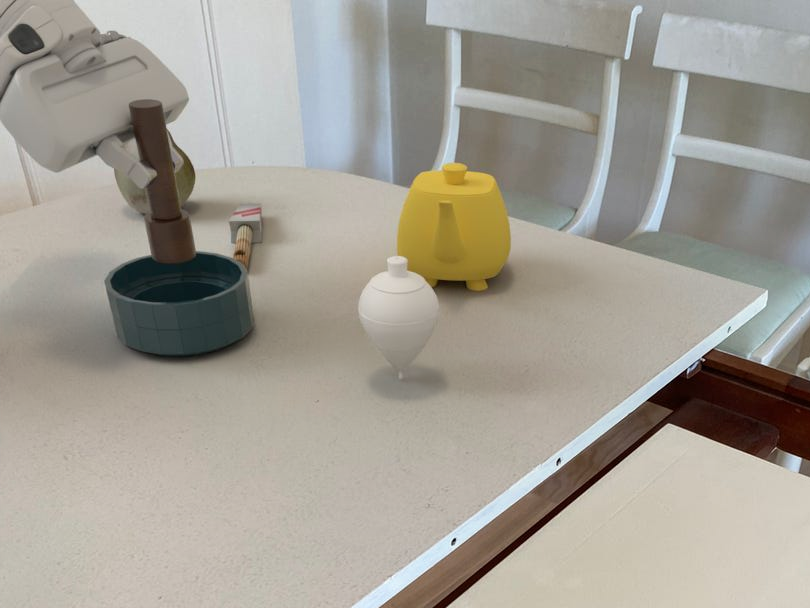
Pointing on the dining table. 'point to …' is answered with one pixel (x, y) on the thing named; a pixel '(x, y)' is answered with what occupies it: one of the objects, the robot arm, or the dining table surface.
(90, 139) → the robot arm
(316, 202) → the dining table surface
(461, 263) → the teapot
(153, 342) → the bowl
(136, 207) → the fruit
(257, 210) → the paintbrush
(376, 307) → the spinning top
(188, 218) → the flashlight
